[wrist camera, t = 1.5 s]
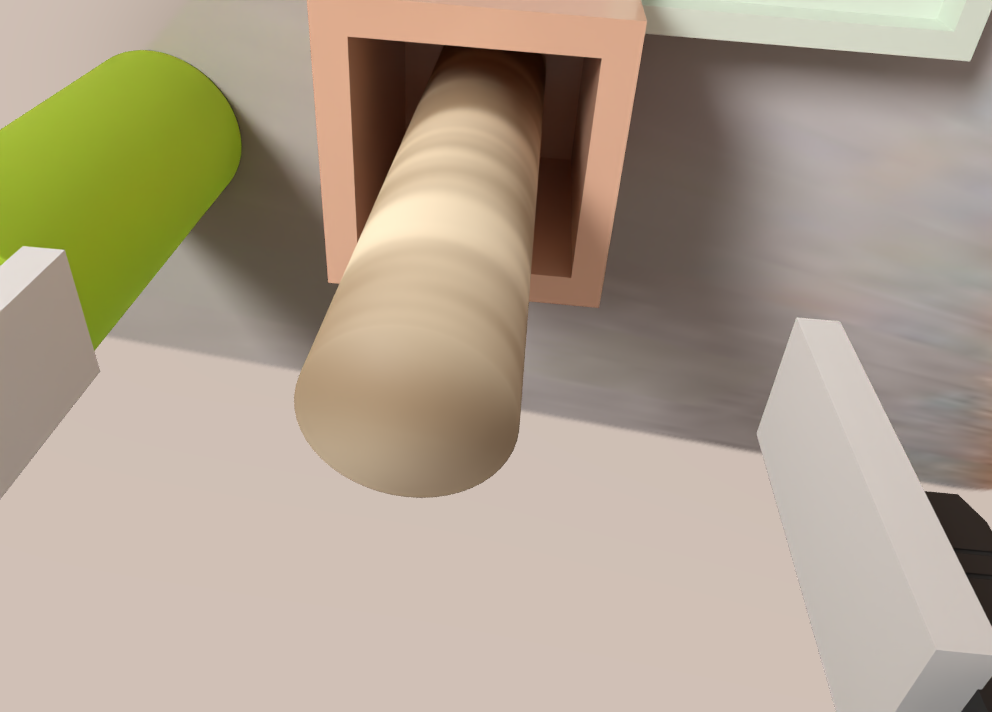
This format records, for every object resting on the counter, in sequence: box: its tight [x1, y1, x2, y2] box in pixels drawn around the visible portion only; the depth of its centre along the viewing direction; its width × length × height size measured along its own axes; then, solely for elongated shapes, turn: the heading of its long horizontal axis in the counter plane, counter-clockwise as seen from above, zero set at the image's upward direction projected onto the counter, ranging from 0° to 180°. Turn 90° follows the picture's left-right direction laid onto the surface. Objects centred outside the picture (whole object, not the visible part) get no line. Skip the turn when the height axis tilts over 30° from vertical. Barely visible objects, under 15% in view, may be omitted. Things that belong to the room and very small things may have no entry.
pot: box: [307, 0, 647, 308], centre depth 24 cm, size 8×8×9 cm
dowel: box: [294, 45, 546, 498], centre depth 20 cm, size 4×4×18 cm
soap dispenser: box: [0, 50, 241, 351], centre depth 22 cm, size 6×7×20 cm
